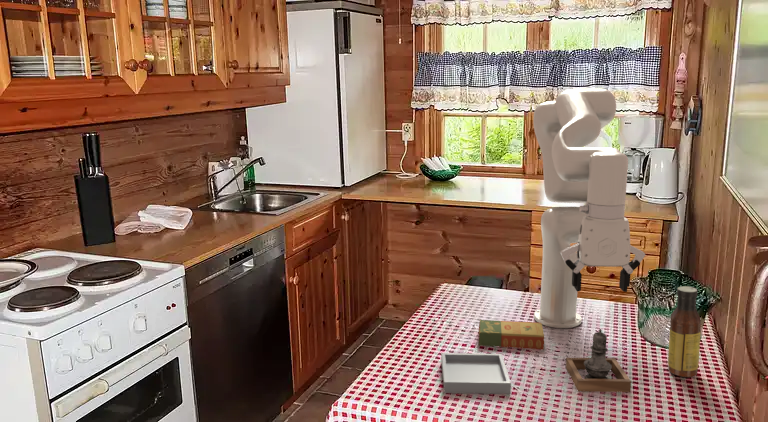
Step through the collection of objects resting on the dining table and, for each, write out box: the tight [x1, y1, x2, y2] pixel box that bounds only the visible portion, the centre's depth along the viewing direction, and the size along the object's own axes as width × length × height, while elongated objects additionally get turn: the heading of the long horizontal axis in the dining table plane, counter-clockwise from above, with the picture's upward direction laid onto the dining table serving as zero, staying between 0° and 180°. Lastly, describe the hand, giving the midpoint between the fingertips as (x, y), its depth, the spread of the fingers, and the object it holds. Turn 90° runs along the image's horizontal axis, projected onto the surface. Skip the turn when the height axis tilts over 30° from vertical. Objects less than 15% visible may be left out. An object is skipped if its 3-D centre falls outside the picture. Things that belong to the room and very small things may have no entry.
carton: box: [478, 319, 545, 350], centre depth 158 cm, size 8×16×4 cm, turn 81°
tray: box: [440, 352, 512, 395], centre depth 139 cm, size 14×14×2 cm
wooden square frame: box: [565, 357, 632, 393], centre depth 138 cm, size 11×11×2 cm
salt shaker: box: [583, 328, 612, 379], centre depth 137 cm, size 6×6×12 cm
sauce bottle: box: [667, 285, 702, 378], centre depth 139 cm, size 6×6×20 cm
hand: (600, 289), depth 134 cm, fingers open, 9 cm apart
